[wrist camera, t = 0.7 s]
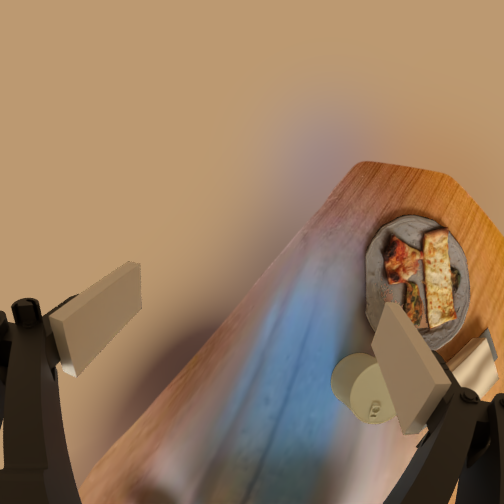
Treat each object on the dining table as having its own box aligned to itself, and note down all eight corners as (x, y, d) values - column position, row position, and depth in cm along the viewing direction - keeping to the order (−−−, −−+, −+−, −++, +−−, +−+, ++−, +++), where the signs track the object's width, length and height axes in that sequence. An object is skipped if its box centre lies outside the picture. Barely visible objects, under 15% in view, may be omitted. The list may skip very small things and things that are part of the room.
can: (322, 398, 42) (340, 420, 31) (340, 347, 44) (364, 354, 33) (370, 408, 41) (398, 429, 30) (387, 358, 43) (421, 367, 32)
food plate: (359, 213, 50) (365, 206, 46) (456, 222, 49) (466, 217, 45) (359, 355, 44) (366, 358, 41) (461, 344, 43) (471, 345, 40)
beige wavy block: (485, 376, 40) (498, 378, 36) (440, 420, 39) (452, 426, 35) (472, 337, 42) (486, 337, 38) (424, 381, 41) (437, 385, 37)
